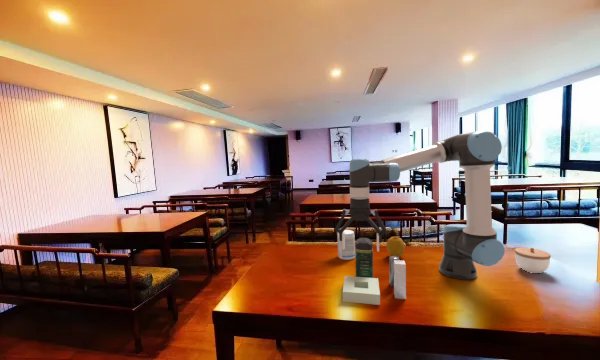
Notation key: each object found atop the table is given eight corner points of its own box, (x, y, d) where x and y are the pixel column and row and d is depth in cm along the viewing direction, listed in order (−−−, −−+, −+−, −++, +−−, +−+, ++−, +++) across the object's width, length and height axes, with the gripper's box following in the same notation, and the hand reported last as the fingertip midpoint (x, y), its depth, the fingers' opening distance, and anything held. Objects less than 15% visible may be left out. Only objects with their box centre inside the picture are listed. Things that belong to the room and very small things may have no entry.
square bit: (404, 294, 106) (404, 260, 105) (405, 299, 102) (405, 264, 101) (394, 293, 107) (393, 260, 106) (395, 298, 103) (394, 263, 102)
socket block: (378, 287, 112) (378, 278, 112) (380, 305, 99) (380, 294, 98) (345, 284, 116) (345, 275, 115) (342, 301, 102) (342, 291, 102)
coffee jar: (373, 284, 115) (373, 243, 114) (355, 282, 117) (354, 242, 116) (372, 274, 125) (372, 236, 123) (356, 273, 127) (355, 236, 125)
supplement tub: (358, 256, 148) (358, 231, 147) (348, 261, 141) (348, 235, 140) (344, 253, 155) (343, 228, 154) (334, 257, 148) (333, 232, 147)
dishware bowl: (548, 279, 114) (549, 254, 113) (511, 270, 124) (512, 248, 123) (551, 270, 122) (552, 247, 122) (517, 263, 132) (517, 242, 131)
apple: (384, 253, 151) (384, 234, 150) (402, 254, 150) (402, 234, 149) (388, 260, 142) (388, 239, 141) (406, 260, 140) (406, 239, 139)
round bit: (398, 282, 116) (398, 256, 115) (399, 286, 112) (399, 259, 111) (389, 281, 117) (389, 255, 116) (390, 286, 113) (389, 259, 112)
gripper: (391, 196, 105) (392, 247, 106) (329, 196, 111) (331, 245, 113) (393, 199, 98) (394, 254, 99) (327, 198, 104) (328, 251, 105)
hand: (360, 249), depth 106 cm, fingers open, 13 cm apart
